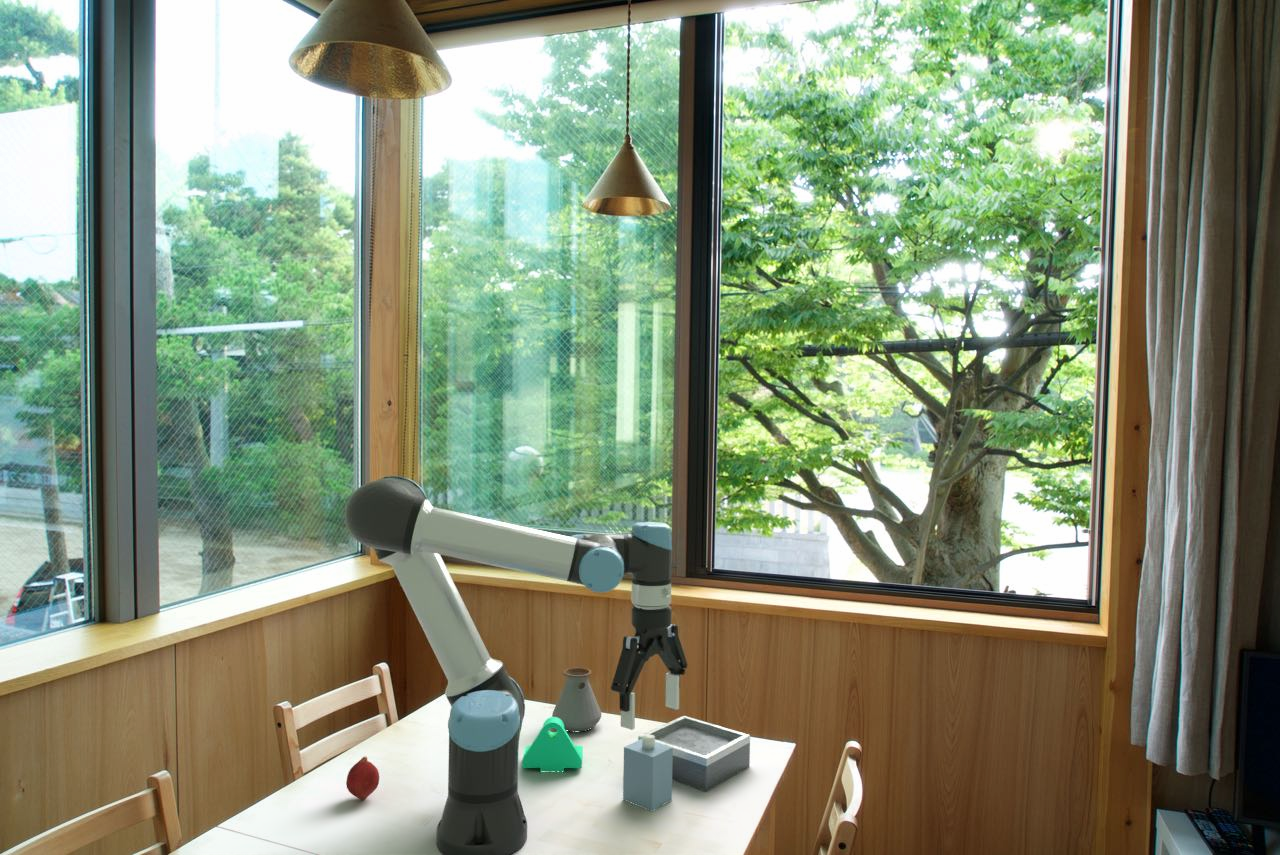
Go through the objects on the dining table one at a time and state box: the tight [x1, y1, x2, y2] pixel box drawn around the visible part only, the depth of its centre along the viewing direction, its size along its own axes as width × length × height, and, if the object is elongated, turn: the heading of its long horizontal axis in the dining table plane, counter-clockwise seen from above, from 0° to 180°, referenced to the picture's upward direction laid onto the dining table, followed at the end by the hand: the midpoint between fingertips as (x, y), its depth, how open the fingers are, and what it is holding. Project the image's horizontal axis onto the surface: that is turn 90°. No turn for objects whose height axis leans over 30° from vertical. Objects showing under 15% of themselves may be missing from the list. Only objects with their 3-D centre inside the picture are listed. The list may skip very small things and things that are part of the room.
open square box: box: [637, 715, 751, 793], centre depth 172 cm, size 16×17×6 cm
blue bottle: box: [622, 734, 673, 812], centre depth 156 cm, size 6×7×12 cm
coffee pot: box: [551, 667, 602, 733], centre depth 188 cm, size 21×12×15 cm, turn 8°
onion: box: [345, 756, 380, 801], centre depth 154 cm, size 6×6×8 cm
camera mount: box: [521, 716, 584, 773], centre depth 171 cm, size 12×8×10 cm, turn 92°
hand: (650, 717), depth 156 cm, fingers open, 13 cm apart
